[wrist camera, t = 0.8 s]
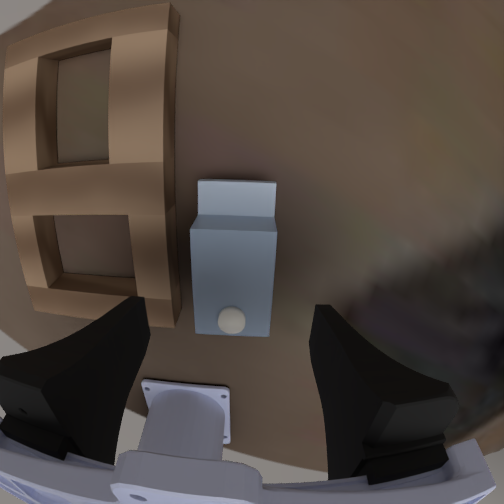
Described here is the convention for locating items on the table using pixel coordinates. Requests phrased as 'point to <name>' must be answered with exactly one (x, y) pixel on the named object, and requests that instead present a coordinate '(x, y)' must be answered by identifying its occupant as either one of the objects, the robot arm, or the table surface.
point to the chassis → (97, 161)
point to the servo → (233, 257)
